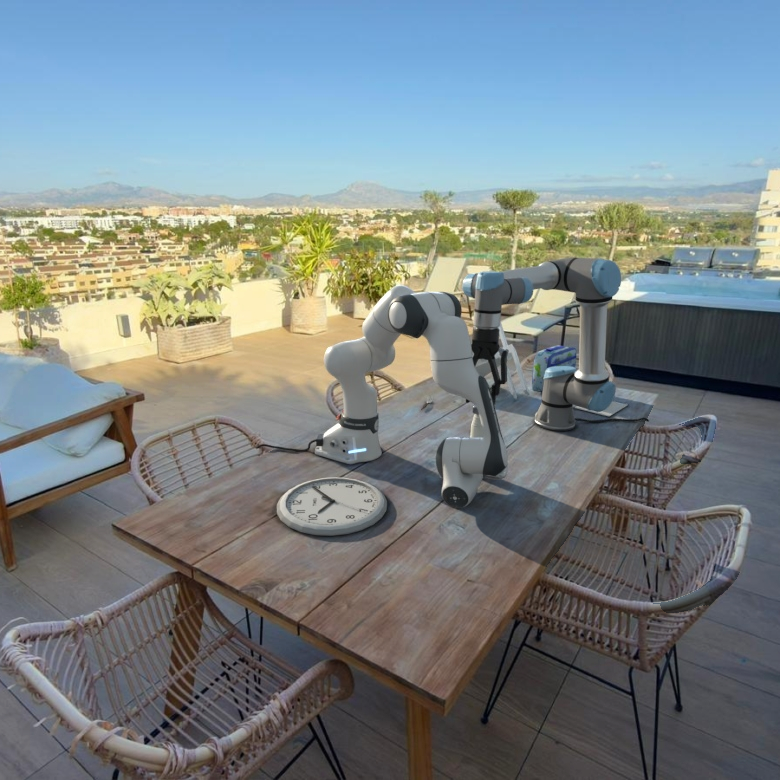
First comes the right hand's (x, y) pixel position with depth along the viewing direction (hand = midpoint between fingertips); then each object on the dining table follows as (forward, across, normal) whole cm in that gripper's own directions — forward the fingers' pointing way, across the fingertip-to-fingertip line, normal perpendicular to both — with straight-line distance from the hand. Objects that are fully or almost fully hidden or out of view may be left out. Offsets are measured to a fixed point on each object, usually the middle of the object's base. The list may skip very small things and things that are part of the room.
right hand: (480, 403), depth 156 cm
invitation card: (+22, -30, -88) cm, 96 cm away
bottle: (+23, 0, 0) cm, 23 cm away
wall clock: (+24, +29, +37) cm, 52 cm away
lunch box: (+22, -7, -102) cm, 105 cm away
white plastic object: (+23, +23, -83) cm, 89 cm away
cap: (+1, 0, 0) cm, 1 cm away
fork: (+23, +38, -53) cm, 69 cm away
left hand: (+17, 0, -1) cm, 17 cm away
